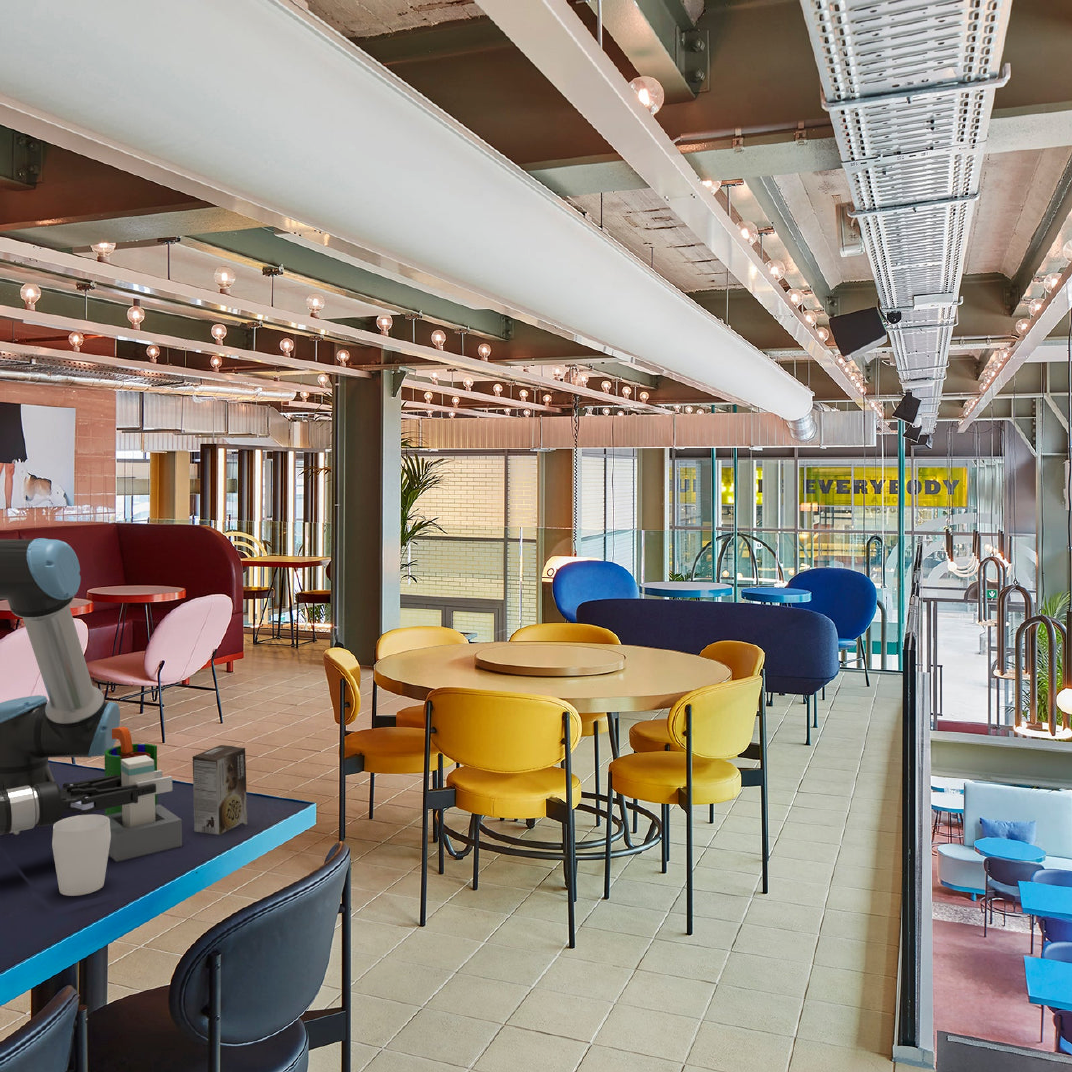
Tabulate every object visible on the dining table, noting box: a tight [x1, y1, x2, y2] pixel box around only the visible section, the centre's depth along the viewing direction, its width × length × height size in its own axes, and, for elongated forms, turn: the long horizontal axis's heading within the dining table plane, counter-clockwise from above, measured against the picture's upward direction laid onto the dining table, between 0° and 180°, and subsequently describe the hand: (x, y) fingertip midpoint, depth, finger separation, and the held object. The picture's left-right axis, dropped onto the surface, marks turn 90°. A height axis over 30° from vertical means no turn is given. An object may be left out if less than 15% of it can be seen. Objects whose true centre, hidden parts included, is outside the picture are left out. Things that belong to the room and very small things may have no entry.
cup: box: [51, 813, 111, 897], centre depth 163 cm, size 9×9×12 cm
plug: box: [121, 755, 155, 828], centre depth 182 cm, size 5×5×16 cm
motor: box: [104, 726, 158, 816], centre depth 195 cm, size 10×9×20 cm
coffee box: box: [192, 744, 248, 835], centre depth 193 cm, size 9×6×16 cm
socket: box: [106, 803, 183, 862], centre depth 182 cm, size 12×12×6 cm
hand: (166, 780), depth 185 cm, fingers closed on plug, 5 cm apart
